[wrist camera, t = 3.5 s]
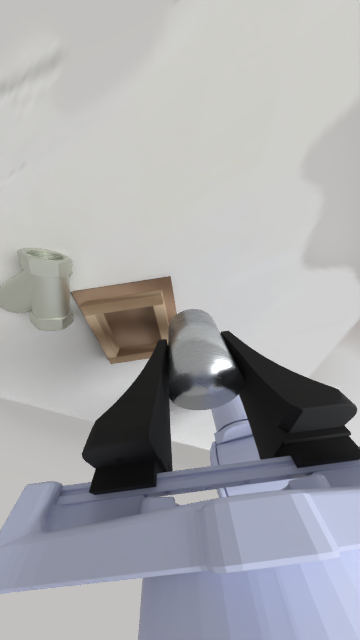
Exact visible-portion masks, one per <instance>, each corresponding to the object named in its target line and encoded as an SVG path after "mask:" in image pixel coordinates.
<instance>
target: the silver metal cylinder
mask: <svg viewBox="0 0 360 640" xmlns="http://www.w3.org/2000/svg"><path fill="white" fill-rule="evenodd" d="M243 385H244V379H243V376H242V374H241V372H240V370H239V368H238V366H237V364H236V363H235V361H234V359H233V357H232V355H231V353H230V351H229V349H228V347H227V345H226V343H225V341H224V339H223V338H222V336H221V334H220V332H219V330H218V328H217V326H216V324H215V322H214V320H213V318H212V317H211V316H210V315H209V314H208V313H206V312H204V311H202V310H198V309H190V310H185V311H182V312H180V313H179V314H177V315H176V316H175V317H174V318H173V319H172V320H171V322H170V324H169V327H168V395H169V397H170V399H171V400H172V402H174V403H175V404H176V405H178V406H180V407H182V408H185V409H190V410H207V409H212V408H216V407H219V406H222V405H224V404H226V403H228V402H230V401H231V400H233V399H234V398H235V397H237V395H238V394H239V393H240V392H241V390H242V388H243Z"/></svg>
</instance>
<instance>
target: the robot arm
mask: <svg viewBox="0 0 360 640" xmlns="http://www.w3.org/2000/svg"><path fill="white" fill-rule="evenodd" d="M221 336H222V338H223V339H224V341H225V343H226V345H227V347H228V349H229V351H230V353H231V355H232V357H233V359H234V361H235V363H236V364H237V366H238V368H239V370H240V372H241V374H242V376H243V379H244V385H243V388H242V390H241V392H240V393H239V394H238V395H237V397H235V398H234V399H233V400H231V401H230V402H228V403H226V404H224V405H222V406H219V407H216V408H212V409H211V410H212V414H213V418H214V422H215V427H216V431H217V433H214V435H215V439H216V441H215V442H213V443H212V446H211V449H210V461H211V466H210V467H202V468H194V469H186V470H179V471H172V453H171V434H170V409H169V395H168V343H167V339H162V340H159V341H158V343H157V345H156V347H155V349H154V351H153V353H152V355H151V357H150V359H149V361H148V362H147V364H146V366H145V367H144V369H143V370H142V372H141V373H140V375H139V376H138V377H137V379H136V380H135V381H134V382H133V384H132V385H131V386H130V387H129V389H128V390H127V391H126V392H125V393H124V394H123V395H122V396H121V397H120V398H119V399H118V400H117V402H116V403H115V404H114V405H113V406H112V407H111V408H109V409H108V410H107V411H106V412H105V413H104V414H103V415H102V416H101V417H100V418H98V419H97V420H96V421H95V424H94V426H93V428H92V430H91V432H90V435H89V437H88V439H87V442H86V445H85V447H84V450H83V452H82V457H83V459H84V460H85V461H86V462H88V463H89V464H90V465H92V466H93V467H94V468H96V470H95V474H94V477H93V480H92V482H88V483H81V484H74V485H66V486H63V485H62V484H61V483H58V482H42V483H35V484H28V485H27V486H25V488H24V490H23V492H22V493H21V495H20V497H19V499H18V500H17V502H16V504H15V506H14V507H13V509H12V511H11V513H10V515H9V517H8V518H7V520H6V522H5V524H4V525H3V527H2V529H1V531H0V594H3V593H10V592H20V591H28V590H37V589H45V588H55V587H64V586H73V585H82V584H90V583H100V582H109V581H118V580H127V579H136V578H143V582H142V595H141V608H140V622H139V623H140V624H139V635H138V640H360V447H358V446H357V445H356V444H355V443H354V441H353V440H352V439H351V438H350V437H349V435H351V433H350V431H349V430H348V429H347V428H346V427H345V426H344V425H345V424H346V423H347V422H348V421H349V420H351V418H353V417H354V416H355V414H356V412H357V407H356V406H355V405H354V404H353V403H352V402H351V401H350V400H349V399H348V398H347V397H346V396H345V395H344V394H342V393H341V392H340V391H339V390H338V389H336V388H333V387H331V386H328V385H325V384H322V383H319V382H317V381H314V380H311V379H309V378H307V377H304V376H302V375H299V374H297V373H295V372H293V371H290V370H288V369H286V368H284V367H282V366H280V365H278V364H276V363H274V362H273V361H271V360H269V359H267V358H266V357H264V356H262V355H261V354H259V353H258V352H256V351H255V350H253V349H252V348H250V347H249V346H247V345H246V344H245V343H243V342H242V341H241V340H239V339H238V338H237V337H236V336H234V335H233V334H232V333H231V332H229V331H224V332H221ZM211 489H217V492H218V495H219V498H216V499H211V500H206V501H200V502H196V503H191V504H187V505H181V506H180V505H179V504H176V503H175V499H174V497H159V496H166V495H174V494H182V493H189V492H197V491H203V490H211Z"/></svg>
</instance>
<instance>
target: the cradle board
mask: <svg viewBox="0 0 360 640" xmlns="http://www.w3.org/2000/svg"><path fill="white" fill-rule="evenodd" d="M71 293H72V295H73V297H74V299H75V300H76V302H77V304H78V306H79V308H80V309H81V311H82V313H83V315H84V317H85V318H86V320H87V322H88V324H89V326H90V327H91V329H92V331H93V333H94V334H95V336H96V338H97V340H98V342H99V343H100V345H101V347H102V349H103V351H104V352H105V354H106V356H107V358H108V359H109V361H110V363H111V364H114V363H121V362H128V361H134V360H141V359H148V358H150V357H151V355H152V353H153V351H154V349H155V347H156V345H157V343H158V341H159V340H162V339H167V343H168V327H169V324H170V322H171V320H172V319H173V318H174V317H175V316H176V315H177V313H176V307H175V301H174V295H173V289H172V283H171V277H170V276H169V277H163V278H156V279H150V280H143V281H137V282H130V283H124V284H117V285H111V286H104V287H98V288H91V289H85V290H78V291H73V292H71Z"/></svg>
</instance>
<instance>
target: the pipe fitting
mask: <svg viewBox="0 0 360 640" xmlns="http://www.w3.org/2000/svg"><path fill="white" fill-rule="evenodd" d="M17 252H18V257H19V262H20V266H21V267H22V268H23V269H24V270H23V271H22V272H20V273H19V274H18V275H16V276H15V277H13V278H12V279H10V280H9V281H7V282H6V283H4V284H3V285H1V286H0V307H2V308H3V309H5V310H7V311H10V312H14V313H26V312H28V311H29V314H30V319H31V322H32V323H33V324H34V325H35V327H37V328H38V329H39V330H44V331H56V330H62V329H65V328H66V327H68V326H69V325H70V324H71V323H72V322H73V312H72V311H71V310H70V293H69V275H71V274H72V261H71V260H70V259H69V258H68V257H67V256H65V255H63V254H60V253H57V252H54V251H50V250H44V249H36V248H26V249H21V250H18V251H17ZM30 310H31V311H30Z"/></svg>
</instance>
